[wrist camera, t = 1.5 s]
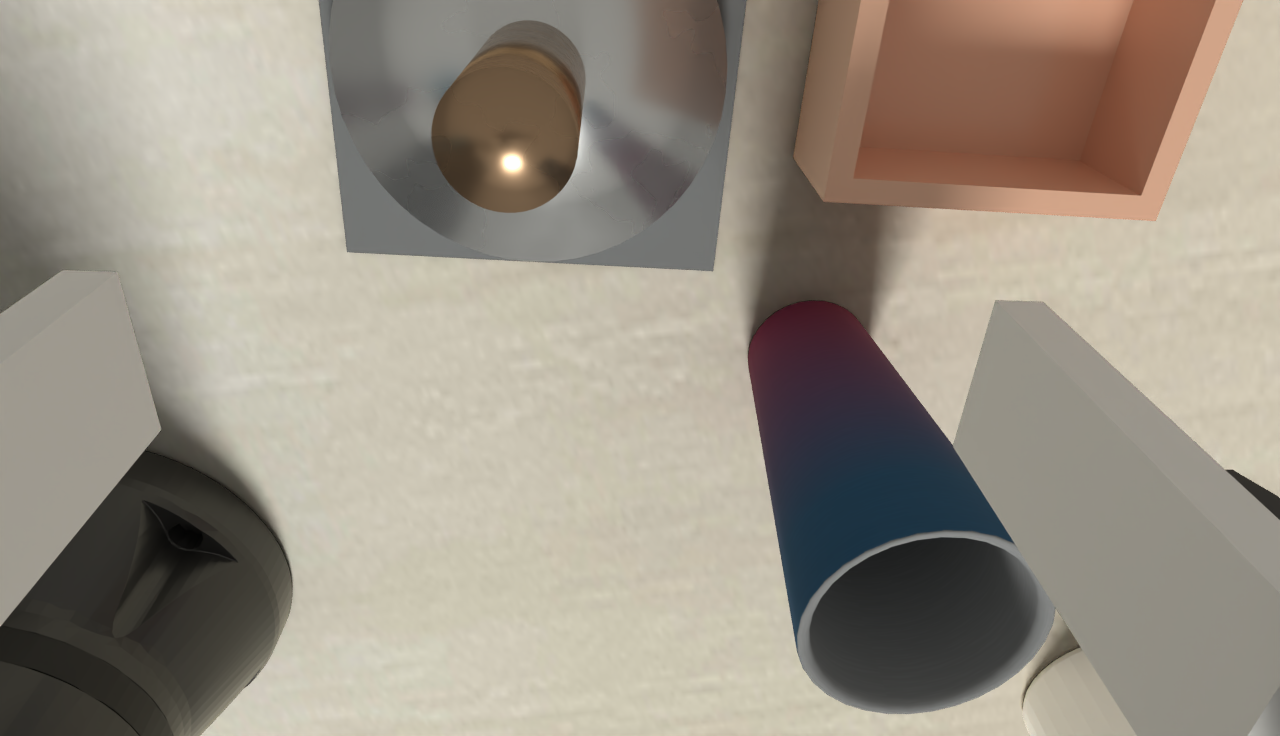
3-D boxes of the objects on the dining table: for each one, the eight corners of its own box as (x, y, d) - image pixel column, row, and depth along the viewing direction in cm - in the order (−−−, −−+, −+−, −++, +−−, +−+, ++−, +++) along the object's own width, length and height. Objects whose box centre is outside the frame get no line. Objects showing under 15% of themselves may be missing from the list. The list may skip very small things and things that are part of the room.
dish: (792, 157, 31) (823, 202, 26) (851, -202, 25) (902, -222, 21) (1079, 175, 31) (1155, 221, 27) (1197, -171, 26) (1315, -183, 22)
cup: (746, 268, 33) (837, 517, 20) (910, 291, 34) (1101, 545, 21) (711, 411, 36) (769, 705, 23) (861, 430, 37) (998, 724, 24)
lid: (359, 240, 31) (274, 360, 23) (316, -170, 25) (179, -198, 17) (701, 258, 32) (732, 380, 24) (746, -134, 26) (810, -144, 18)
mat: (349, 248, 32) (347, 252, 31) (301, -190, 25) (297, -191, 24) (712, 267, 33) (713, 271, 32) (763, -151, 26) (765, -152, 25)
